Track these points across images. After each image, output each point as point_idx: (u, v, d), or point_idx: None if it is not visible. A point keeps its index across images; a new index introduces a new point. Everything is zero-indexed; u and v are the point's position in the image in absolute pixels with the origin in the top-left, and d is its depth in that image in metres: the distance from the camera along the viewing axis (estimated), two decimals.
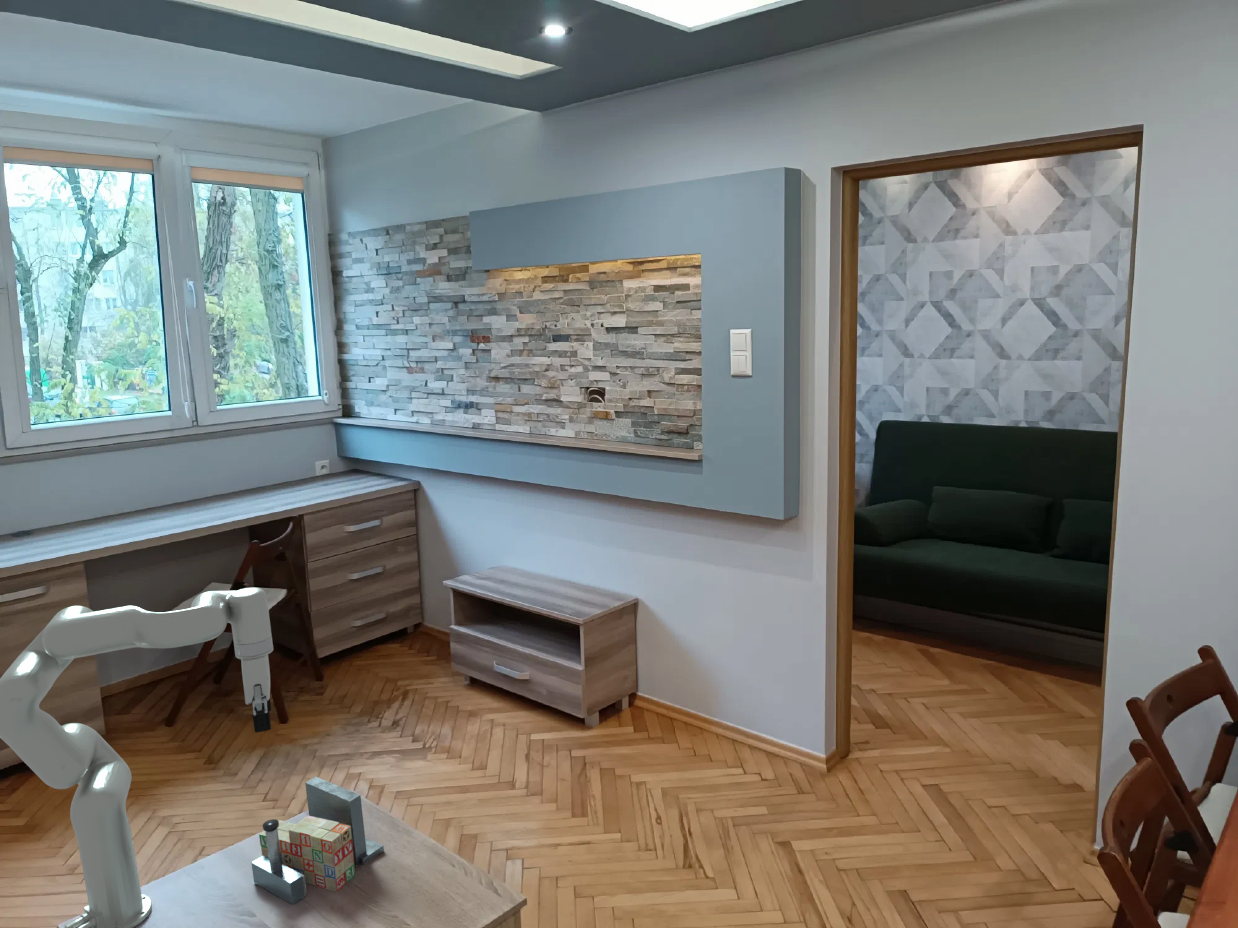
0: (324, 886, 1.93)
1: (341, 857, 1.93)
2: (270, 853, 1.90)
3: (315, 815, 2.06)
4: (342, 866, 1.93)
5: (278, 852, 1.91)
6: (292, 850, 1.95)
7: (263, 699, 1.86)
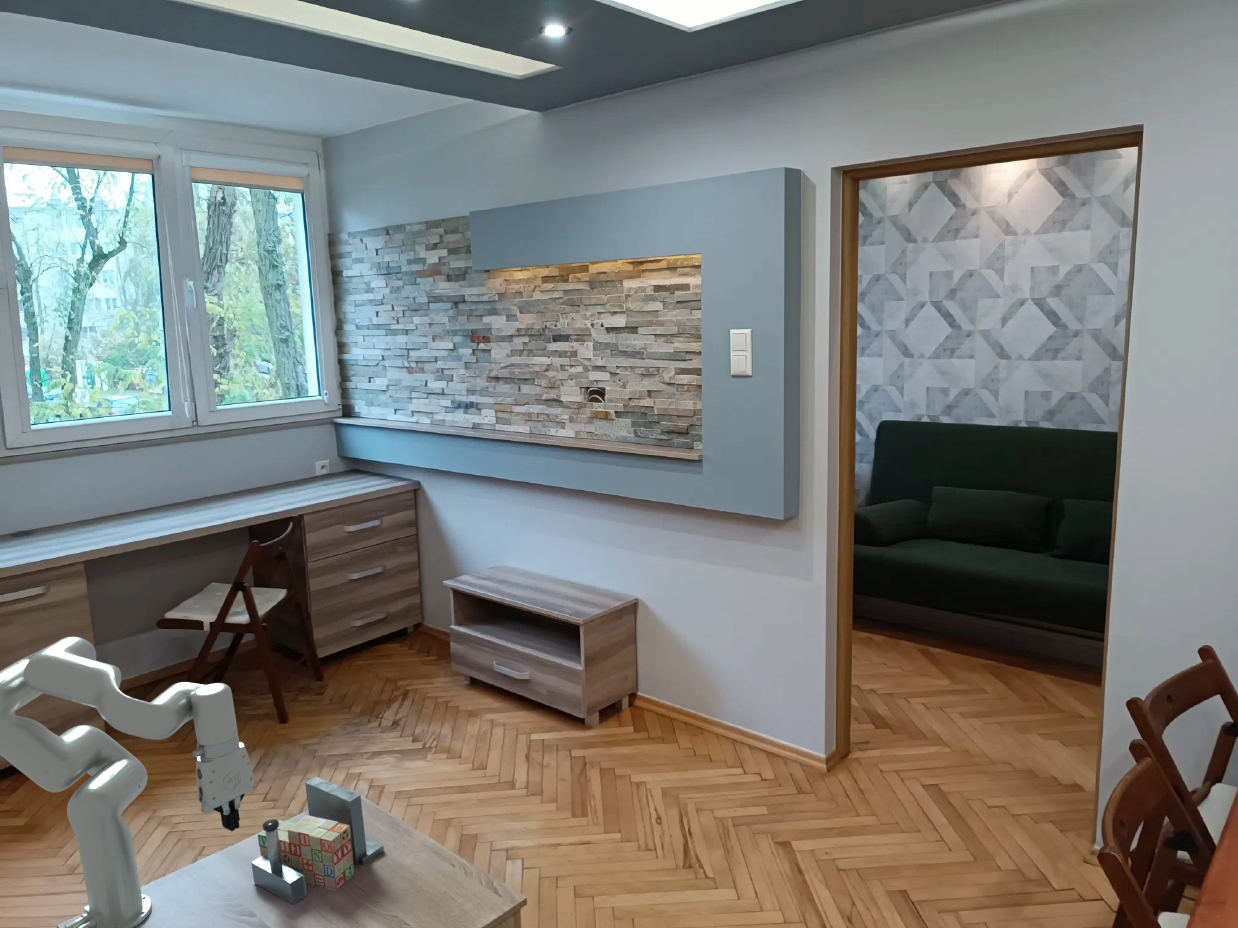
0: (323, 885, 1.93)
1: (341, 856, 1.93)
2: (270, 853, 1.90)
3: (315, 815, 2.06)
4: (341, 865, 1.93)
5: (278, 852, 1.91)
6: (290, 850, 1.95)
7: None
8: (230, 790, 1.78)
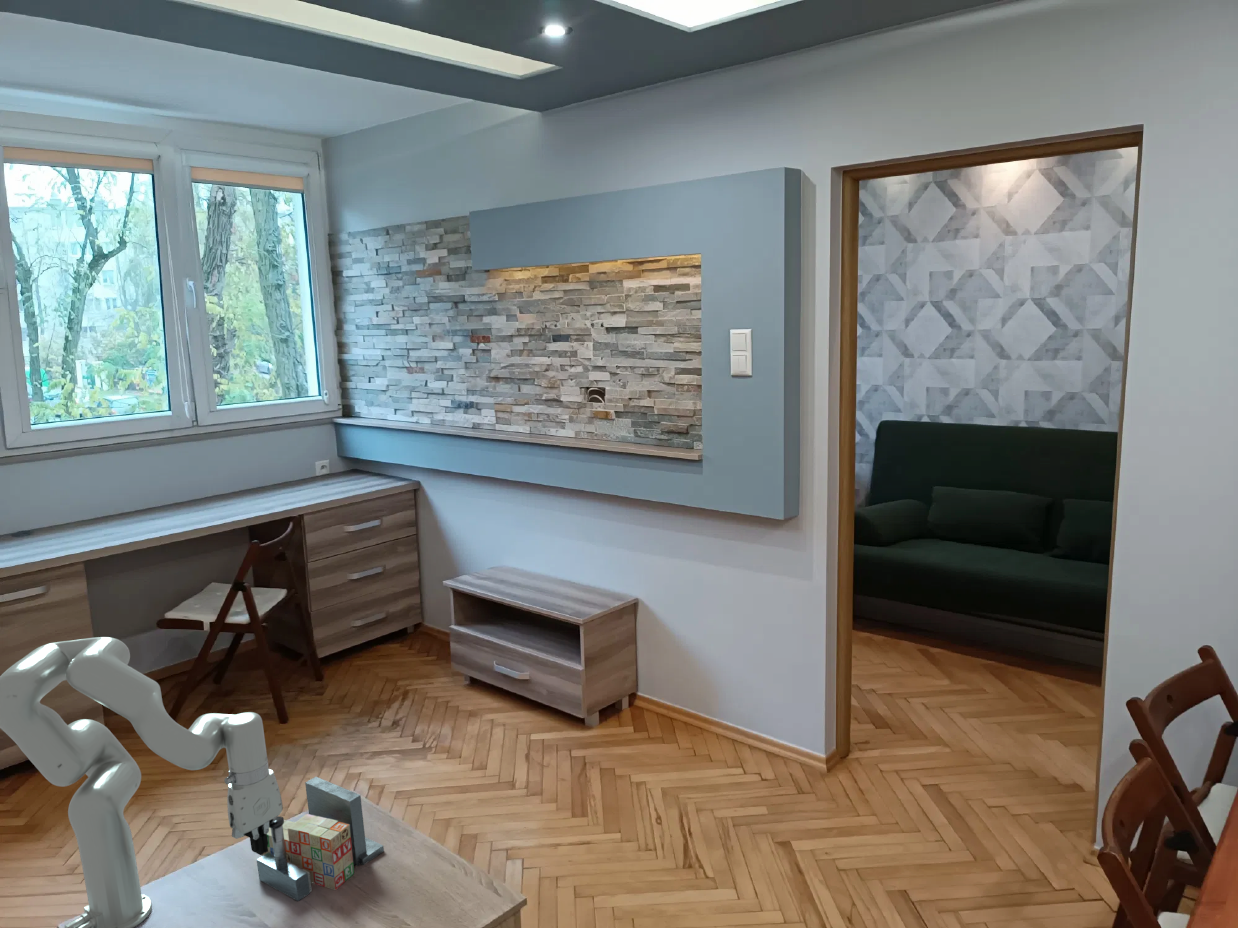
0: (323, 884, 1.93)
1: (340, 855, 1.93)
2: (275, 850, 1.91)
3: (315, 815, 2.06)
4: (340, 864, 1.93)
5: (283, 849, 1.92)
6: (291, 849, 1.96)
7: None
8: (260, 816, 1.85)
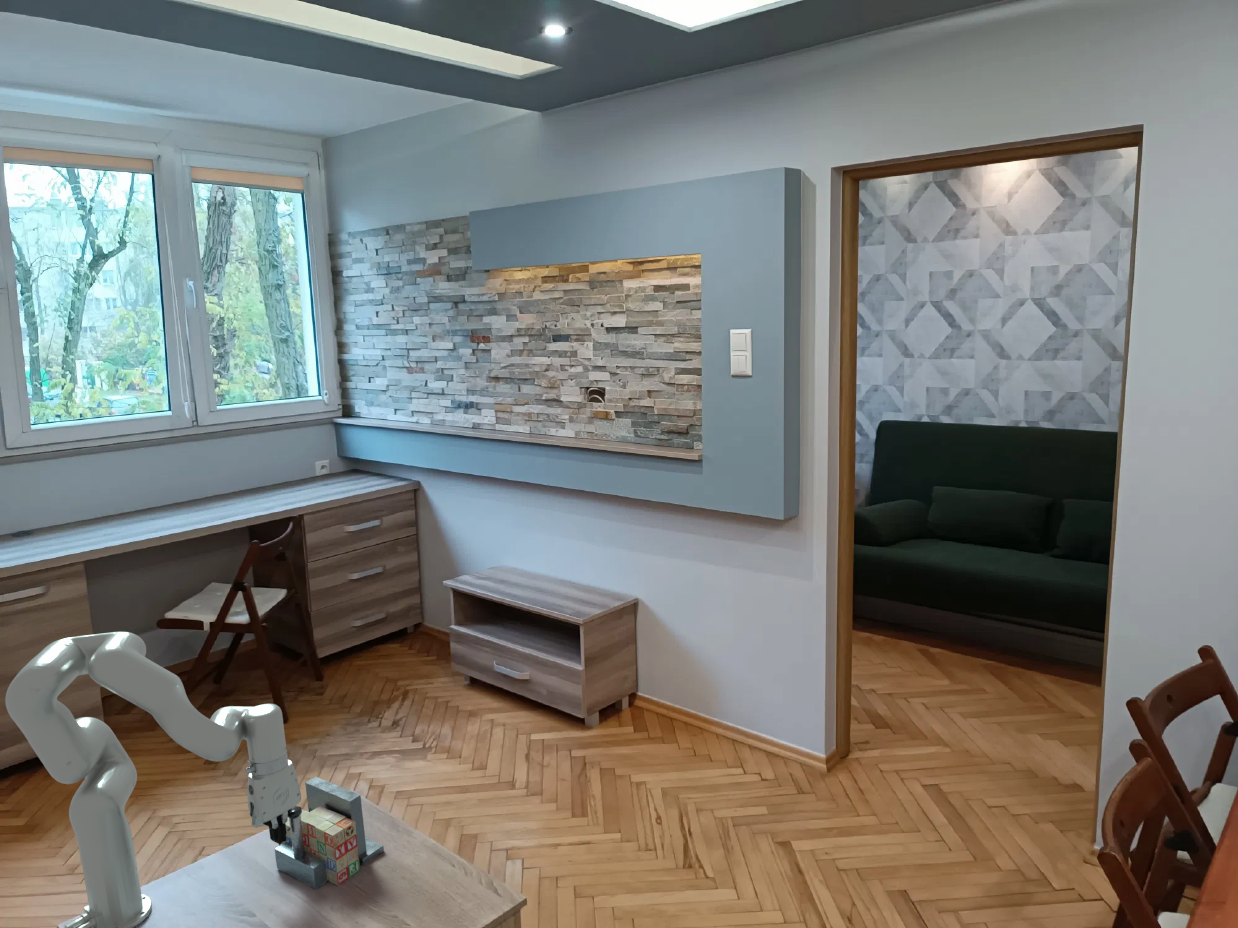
0: None
1: (344, 852, 1.94)
2: (293, 839, 1.95)
3: None
4: (344, 860, 1.94)
5: (301, 838, 1.95)
6: None
7: None
8: (279, 805, 1.88)
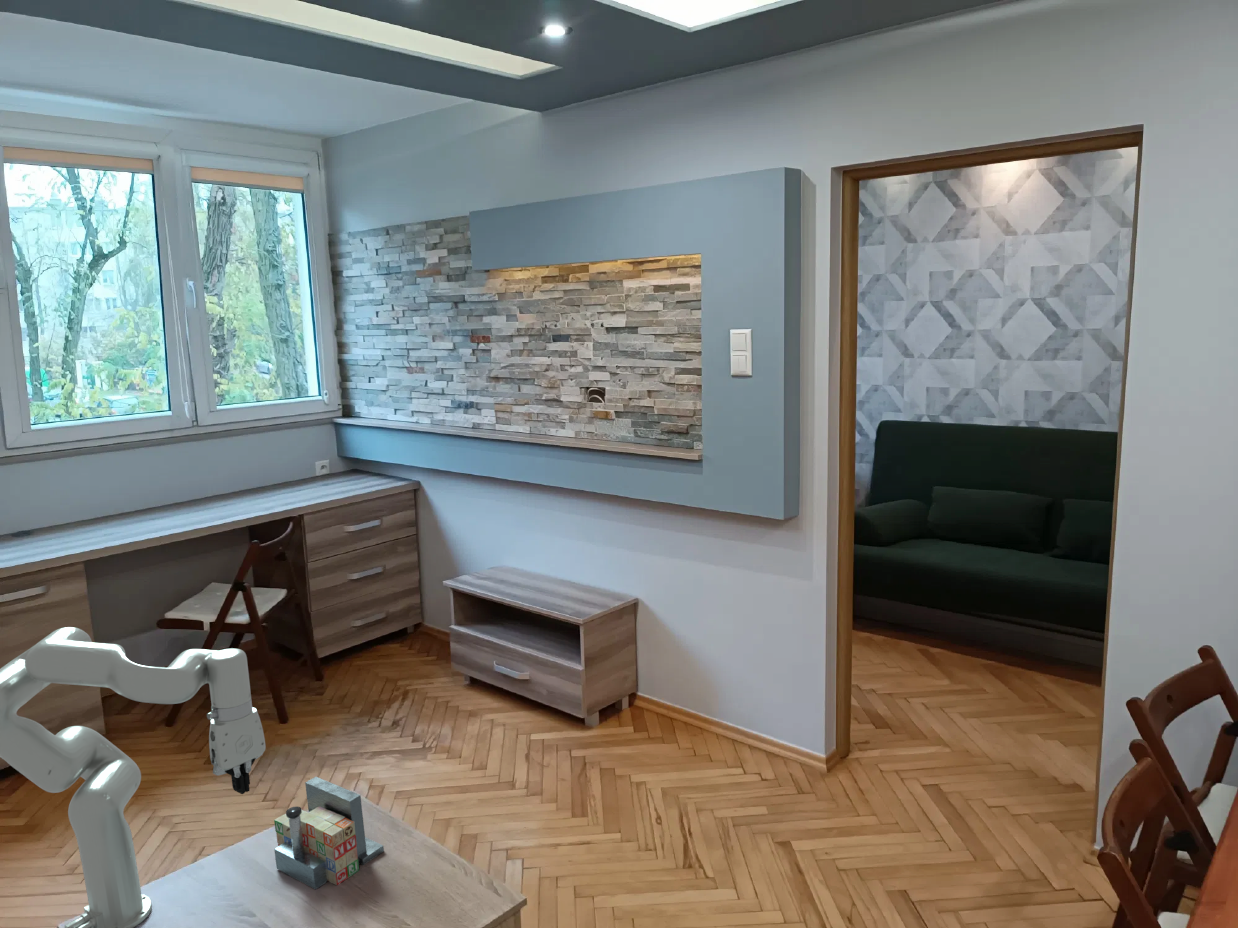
0: None
1: (343, 852, 1.95)
2: (293, 839, 1.95)
3: None
4: (343, 861, 1.95)
5: (301, 838, 1.95)
6: None
7: None
8: (242, 754, 1.82)
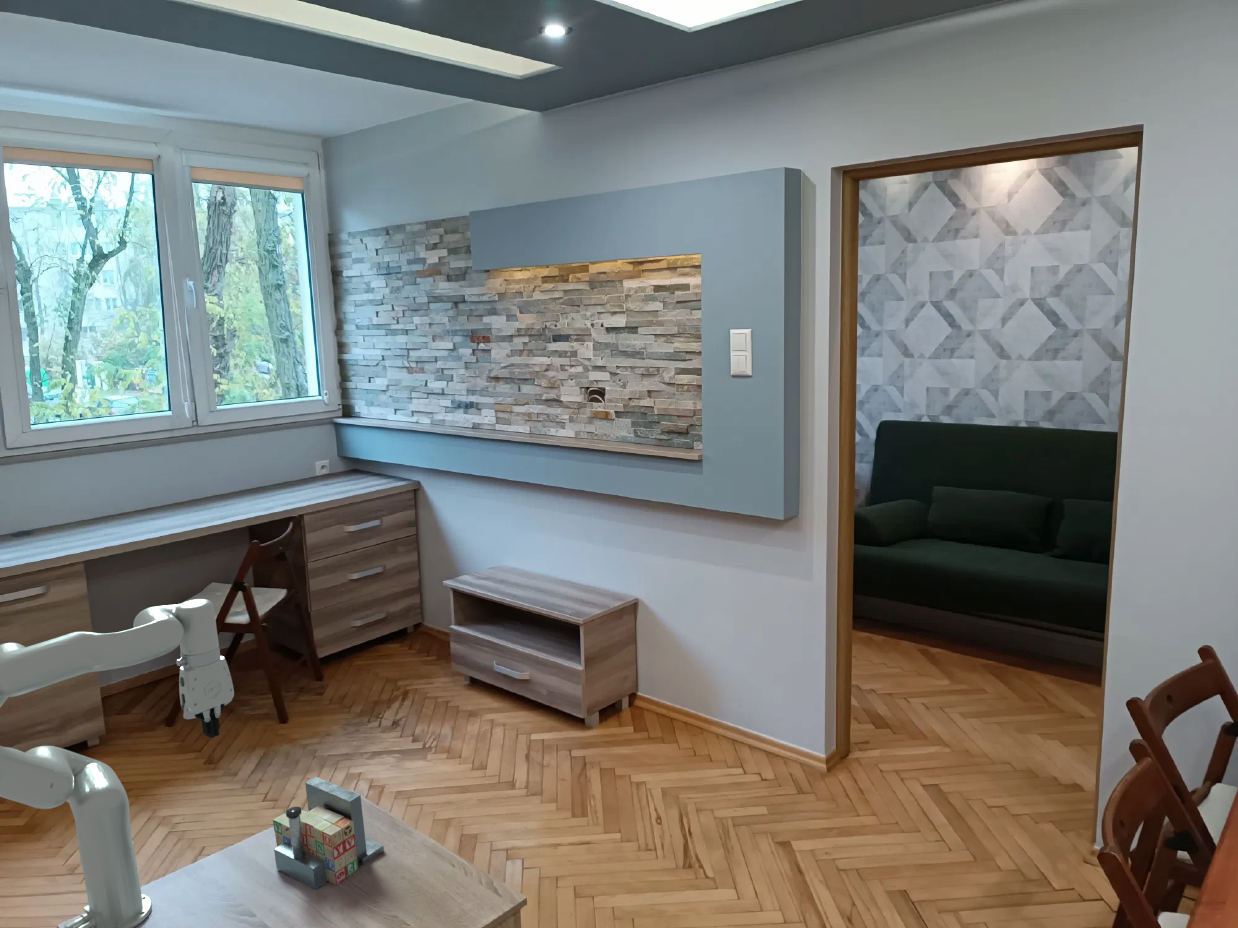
0: None
1: (342, 851, 1.95)
2: (293, 839, 1.95)
3: None
4: (342, 860, 1.95)
5: (301, 838, 1.95)
6: None
7: None
8: (211, 699, 1.91)
